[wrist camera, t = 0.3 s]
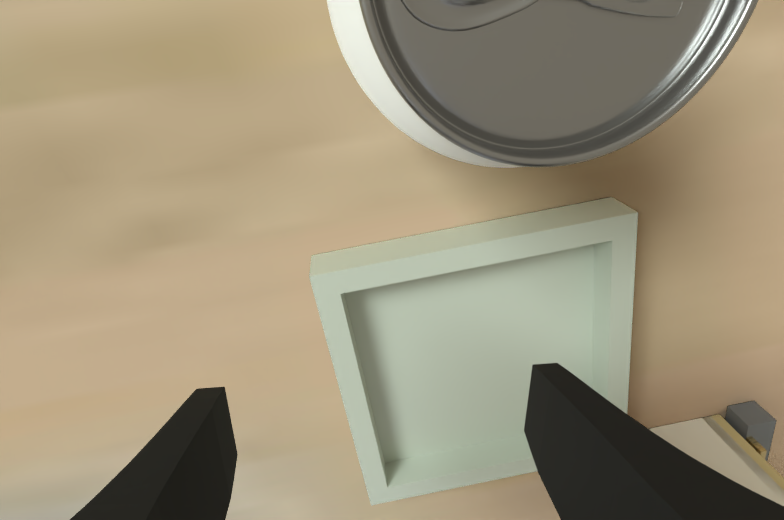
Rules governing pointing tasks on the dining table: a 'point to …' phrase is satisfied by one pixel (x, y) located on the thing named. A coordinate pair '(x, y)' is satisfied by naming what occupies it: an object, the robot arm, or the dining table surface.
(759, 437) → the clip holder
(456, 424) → the tray
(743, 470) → the carton
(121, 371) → the dining table surface
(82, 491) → the dining table surface
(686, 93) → the can
